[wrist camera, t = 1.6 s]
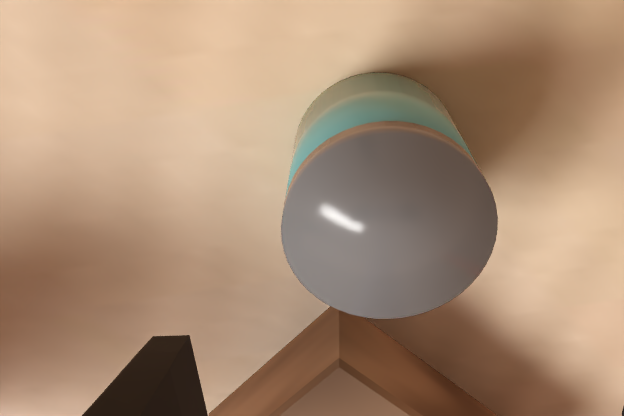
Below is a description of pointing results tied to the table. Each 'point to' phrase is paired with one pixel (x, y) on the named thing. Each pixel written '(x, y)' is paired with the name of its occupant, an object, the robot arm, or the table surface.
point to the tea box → (347, 377)
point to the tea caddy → (385, 200)
